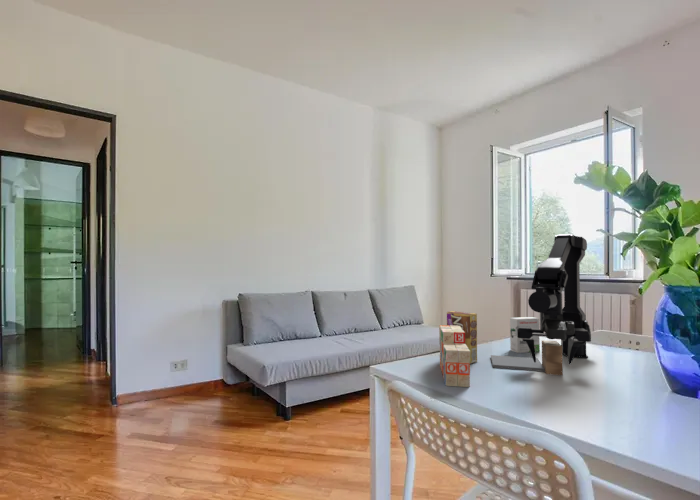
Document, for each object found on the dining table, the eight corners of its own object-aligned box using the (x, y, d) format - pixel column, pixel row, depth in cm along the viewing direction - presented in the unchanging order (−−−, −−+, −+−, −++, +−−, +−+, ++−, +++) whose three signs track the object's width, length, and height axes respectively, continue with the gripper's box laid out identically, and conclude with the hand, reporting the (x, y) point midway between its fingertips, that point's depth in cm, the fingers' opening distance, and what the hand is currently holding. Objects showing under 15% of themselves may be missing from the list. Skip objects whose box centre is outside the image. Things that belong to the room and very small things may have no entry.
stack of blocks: (470, 388, 96) (470, 338, 96) (445, 386, 97) (444, 338, 97) (460, 365, 117) (459, 324, 117) (439, 364, 118) (439, 324, 118)
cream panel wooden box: (556, 368, 113) (556, 340, 113) (562, 375, 106) (562, 345, 106) (542, 367, 114) (541, 340, 114) (546, 374, 107) (546, 344, 107)
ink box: (531, 349, 137) (531, 316, 137) (540, 352, 132) (540, 318, 133) (509, 350, 136) (509, 316, 136) (517, 353, 131) (517, 318, 131)
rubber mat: (537, 360, 121) (537, 358, 121) (544, 371, 110) (544, 368, 110) (490, 357, 125) (490, 355, 125) (493, 367, 114) (493, 364, 114)
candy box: (478, 361, 120) (477, 313, 120) (470, 364, 117) (469, 314, 118) (454, 356, 127) (453, 310, 127) (446, 358, 124) (445, 311, 125)
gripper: (519, 311, 105) (520, 368, 105) (596, 314, 100) (598, 374, 100) (514, 306, 116) (515, 358, 116) (584, 309, 111) (585, 363, 110)
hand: (551, 363), depth 110 cm, fingers open, 9 cm apart
